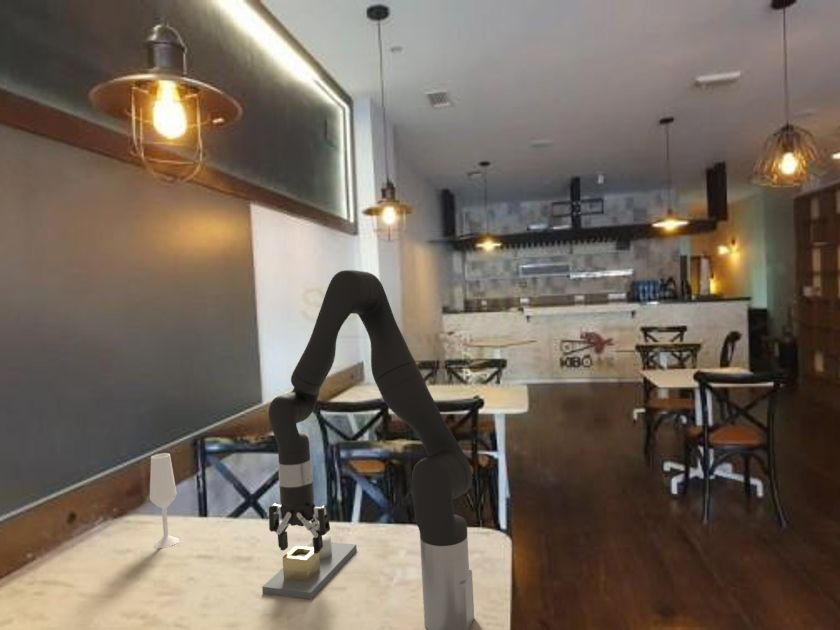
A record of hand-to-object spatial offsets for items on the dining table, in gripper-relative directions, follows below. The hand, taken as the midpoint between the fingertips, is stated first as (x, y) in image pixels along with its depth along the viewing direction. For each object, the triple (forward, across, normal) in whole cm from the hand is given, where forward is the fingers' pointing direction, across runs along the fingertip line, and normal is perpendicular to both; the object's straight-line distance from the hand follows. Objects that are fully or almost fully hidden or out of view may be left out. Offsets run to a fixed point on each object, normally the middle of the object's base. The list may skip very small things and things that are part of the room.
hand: (300, 550), depth 131 cm
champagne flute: (+7, -48, +12) cm, 50 cm away
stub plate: (+7, 0, +5) cm, 9 cm away
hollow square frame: (+6, 0, 0) cm, 6 cm away
